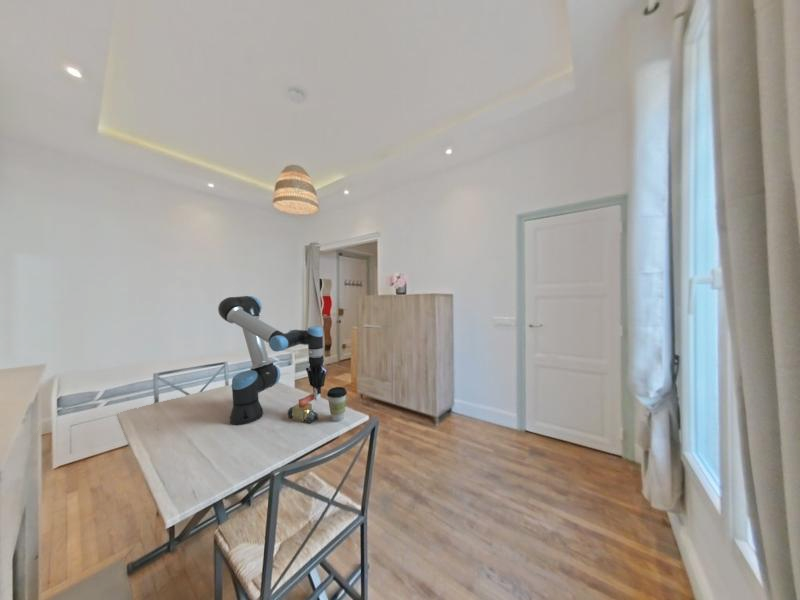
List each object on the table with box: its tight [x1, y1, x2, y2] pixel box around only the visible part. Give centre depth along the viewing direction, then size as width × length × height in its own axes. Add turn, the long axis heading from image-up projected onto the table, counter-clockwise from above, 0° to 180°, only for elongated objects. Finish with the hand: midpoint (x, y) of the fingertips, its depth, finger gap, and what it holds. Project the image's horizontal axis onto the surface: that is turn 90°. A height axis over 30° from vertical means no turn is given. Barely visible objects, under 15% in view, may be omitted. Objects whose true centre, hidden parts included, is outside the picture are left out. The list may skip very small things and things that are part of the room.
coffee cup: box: [326, 386, 348, 423], centre depth 139 cm, size 10×10×15 cm
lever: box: [298, 392, 315, 406], centre depth 145 cm, size 14×3×3 cm, turn 155°
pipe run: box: [287, 402, 319, 425], centre depth 140 cm, size 16×6×8 cm, turn 65°
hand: (317, 399), depth 145 cm, fingers closed
